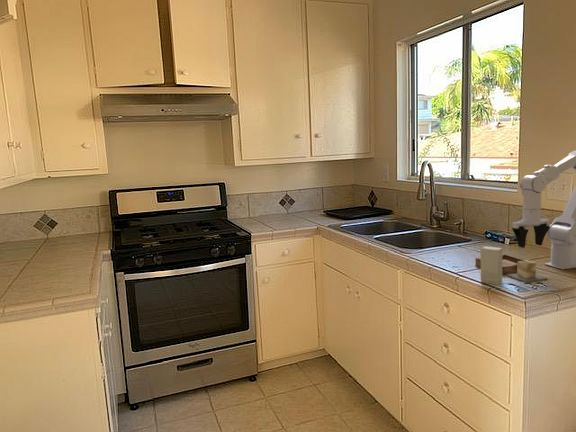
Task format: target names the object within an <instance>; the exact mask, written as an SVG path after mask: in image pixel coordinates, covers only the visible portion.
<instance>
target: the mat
mask: <svg viewBox="0 0 576 432" xmlns="http://www.w3.org/2000/svg"><path fill="white" fill-rule="evenodd" d="M505 276H506V277H507V276H508V278H510V277H511V278H510V279H513V280H516V281H519V282H521V281H522V282H521V283H524V284H528V283H529V284H530V283H536V282H541V281H548V278H547V277H546V276H543V275H539V274H537V273H535V277H531V278H524V277H521V276H518V275H517V273H512V274H506V275H505Z"/></svg>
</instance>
